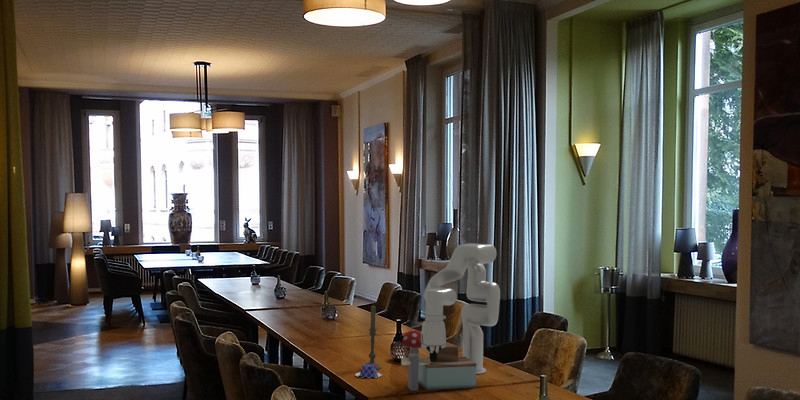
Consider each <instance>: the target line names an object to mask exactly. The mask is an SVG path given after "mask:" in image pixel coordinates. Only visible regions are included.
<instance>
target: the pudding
mask: <svg viewBox="0 0 800 400" xmlns="http://www.w3.org/2000/svg"><path fill="white" fill-rule="evenodd" d="M377 375H378V377H377ZM354 376H356V377H358V378H361V379H362V378H363V379H365V378H364V377H367V378H366V379H372V378H371V377H374V378H373V379H376V378H380V377H381V376H382V374H381V373H379V372H377V370H376V367H375V365H374V364H367V363H363V364H362V365H361V368H360V372H357V373H355V375H354ZM359 376H362V377H359Z"/></svg>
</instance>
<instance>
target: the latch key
mask: <svg viewBox="0 0 800 400" xmlns="http://www.w3.org/2000/svg"><path fill="white" fill-rule="evenodd" d="M400 365H401V366H404V367H405V366H408V365H411V358H408V357H403V358H401V359H400ZM419 365H430V358H429V357H419Z"/></svg>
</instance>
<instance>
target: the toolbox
mask: <svg viewBox="0 0 800 400" xmlns="http://www.w3.org/2000/svg"><path fill="white" fill-rule="evenodd" d="M407 358H411V365H407V389H409V390H410V391H411V392H416V391H419V384H420V385H421V386H422V387H424V389H425V390H427V391H428V390H429V391H430V390H448V389H469V388H470V389H471V388H477V374H476V366H472V367H446V368H426V367H425V366H424V365H419V358H420V355H419V356H418V355H417V354H415V353H414V354H410V353H408V357H407Z"/></svg>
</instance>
